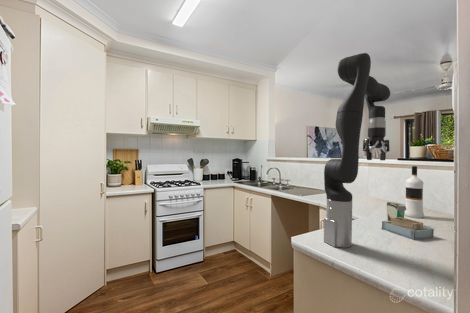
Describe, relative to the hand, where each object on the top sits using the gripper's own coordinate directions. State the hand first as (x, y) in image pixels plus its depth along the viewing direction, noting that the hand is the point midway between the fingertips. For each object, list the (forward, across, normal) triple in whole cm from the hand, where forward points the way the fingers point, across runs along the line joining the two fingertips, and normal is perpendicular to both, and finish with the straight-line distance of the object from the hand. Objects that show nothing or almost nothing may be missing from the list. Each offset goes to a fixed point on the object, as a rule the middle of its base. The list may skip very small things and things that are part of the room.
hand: (376, 160), depth 111 cm
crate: (+33, +6, -11) cm, 35 cm away
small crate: (+32, +6, -11) cm, 35 cm away
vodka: (+33, +42, +11) cm, 55 cm away
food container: (+33, +18, +2) cm, 38 cm away
